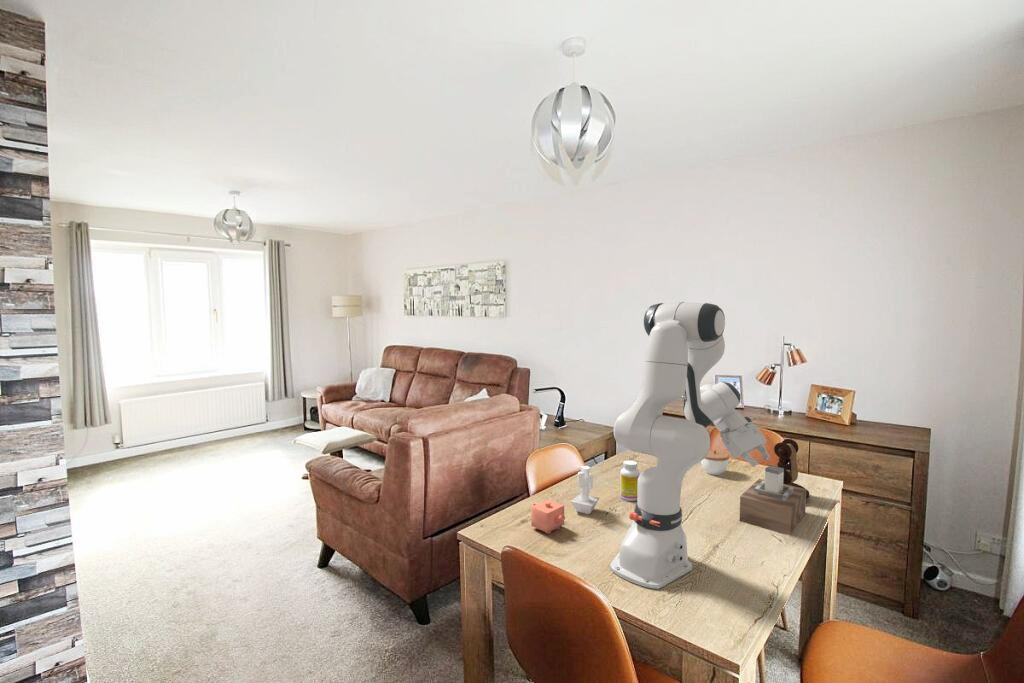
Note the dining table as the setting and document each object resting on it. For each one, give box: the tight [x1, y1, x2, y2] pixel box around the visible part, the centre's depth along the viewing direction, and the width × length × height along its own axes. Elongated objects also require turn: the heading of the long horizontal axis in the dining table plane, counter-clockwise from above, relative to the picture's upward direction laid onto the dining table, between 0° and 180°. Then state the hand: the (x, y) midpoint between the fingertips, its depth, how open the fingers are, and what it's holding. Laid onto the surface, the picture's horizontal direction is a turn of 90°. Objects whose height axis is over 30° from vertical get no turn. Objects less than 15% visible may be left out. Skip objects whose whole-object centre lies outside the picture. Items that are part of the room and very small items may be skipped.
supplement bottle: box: [619, 460, 641, 502], centre depth 165 cm, size 7×7×13 cm
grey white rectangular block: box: [764, 465, 784, 494], centre depth 149 cm, size 4×4×8 cm
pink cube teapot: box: [530, 499, 566, 535], centre depth 143 cm, size 8×12×8 cm, turn 44°
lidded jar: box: [700, 449, 730, 476], centre depth 189 cm, size 11×11×9 cm
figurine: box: [570, 465, 600, 515], centre depth 155 cm, size 7×9×15 cm
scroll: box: [773, 438, 810, 500], centre depth 165 cm, size 15×15×20 cm
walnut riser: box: [739, 478, 807, 536], centre depth 149 cm, size 20×14×10 cm
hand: (762, 462), depth 151 cm, fingers open, 8 cm apart
